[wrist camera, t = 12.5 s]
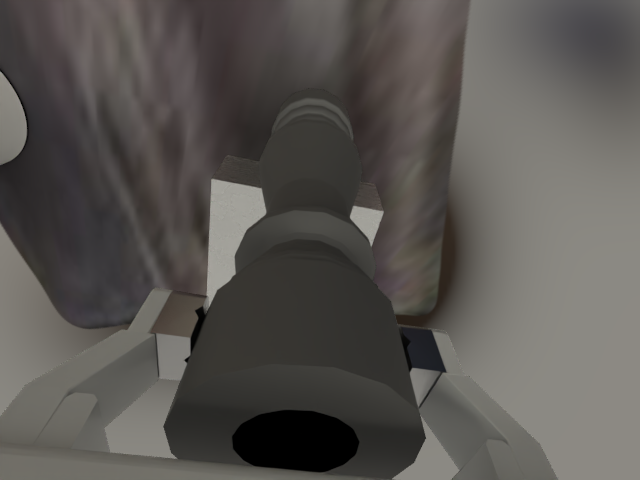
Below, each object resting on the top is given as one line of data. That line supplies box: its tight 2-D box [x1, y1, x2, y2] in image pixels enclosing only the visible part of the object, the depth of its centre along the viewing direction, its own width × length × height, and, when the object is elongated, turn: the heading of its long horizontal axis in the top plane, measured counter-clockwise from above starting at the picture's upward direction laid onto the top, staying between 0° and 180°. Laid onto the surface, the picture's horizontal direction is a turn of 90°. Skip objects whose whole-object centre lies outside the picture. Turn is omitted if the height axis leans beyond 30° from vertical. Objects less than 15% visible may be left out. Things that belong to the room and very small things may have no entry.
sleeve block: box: [207, 155, 384, 307], centre depth 43 cm, size 18×18×7 cm
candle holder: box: [164, 88, 426, 479], centre depth 18 cm, size 6×6×25 cm
